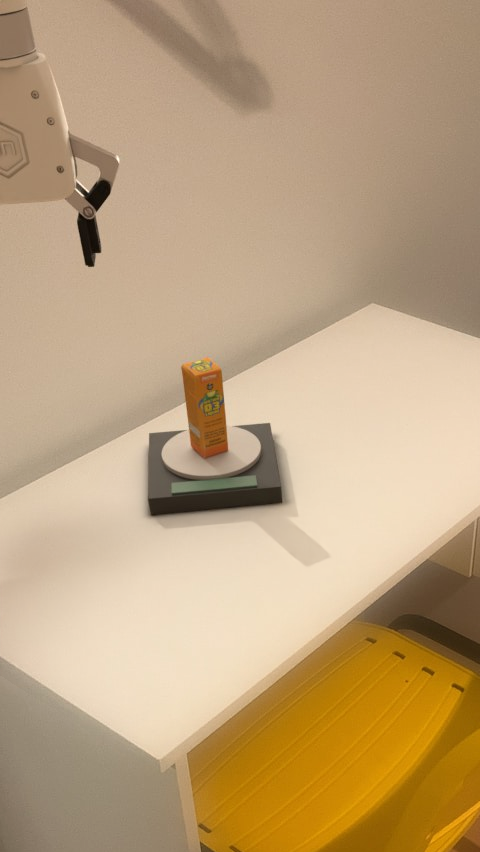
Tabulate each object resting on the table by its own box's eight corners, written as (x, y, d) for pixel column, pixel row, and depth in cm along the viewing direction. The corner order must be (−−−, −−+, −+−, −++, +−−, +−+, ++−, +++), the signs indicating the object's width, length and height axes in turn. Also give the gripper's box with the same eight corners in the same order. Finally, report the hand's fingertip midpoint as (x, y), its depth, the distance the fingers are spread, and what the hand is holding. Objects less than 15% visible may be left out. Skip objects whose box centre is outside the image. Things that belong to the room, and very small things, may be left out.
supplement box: (204, 460, 105) (192, 375, 98) (190, 447, 107) (178, 363, 100) (231, 451, 106) (221, 366, 99) (217, 438, 108) (206, 355, 102)
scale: (150, 515, 102) (146, 494, 100) (151, 448, 112) (148, 428, 110) (282, 502, 103) (280, 481, 101) (271, 437, 114) (269, 417, 112)
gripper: (-148, 53, 69) (-75, 288, 81) (95, 43, 71) (134, 274, 82) (-126, 34, 75) (-60, 256, 86) (100, 25, 77) (135, 244, 88)
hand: (35, 265), depth 84 cm, fingers open, 9 cm apart
